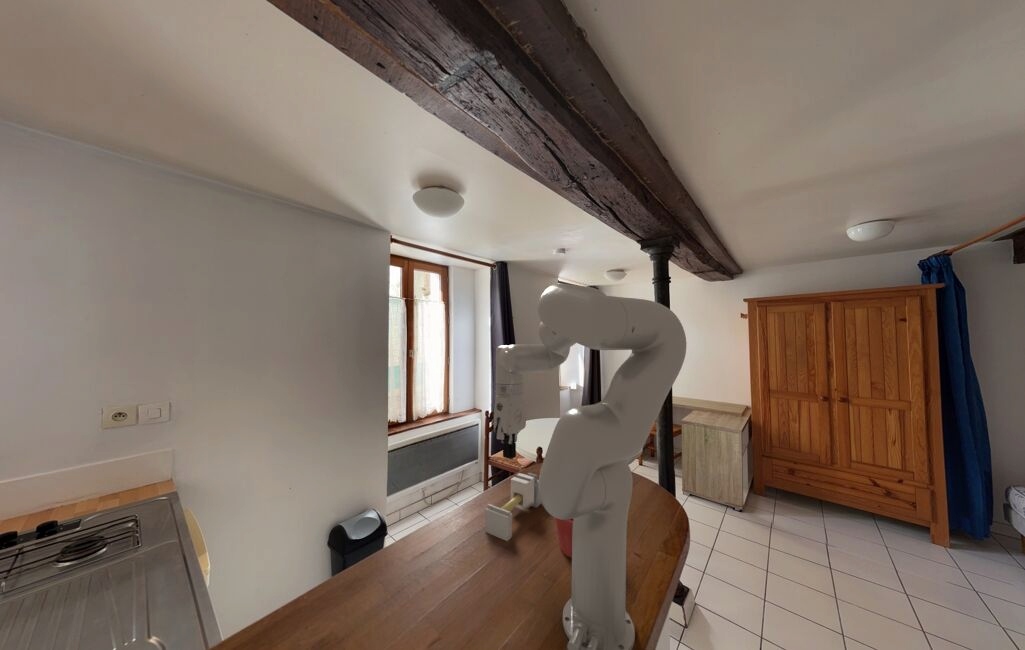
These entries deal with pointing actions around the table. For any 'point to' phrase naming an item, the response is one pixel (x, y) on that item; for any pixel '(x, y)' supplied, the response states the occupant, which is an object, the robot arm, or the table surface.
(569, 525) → the flower pot
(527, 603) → the table surface
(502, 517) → the rail
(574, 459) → the robot arm
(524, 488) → the grooved sliding block
